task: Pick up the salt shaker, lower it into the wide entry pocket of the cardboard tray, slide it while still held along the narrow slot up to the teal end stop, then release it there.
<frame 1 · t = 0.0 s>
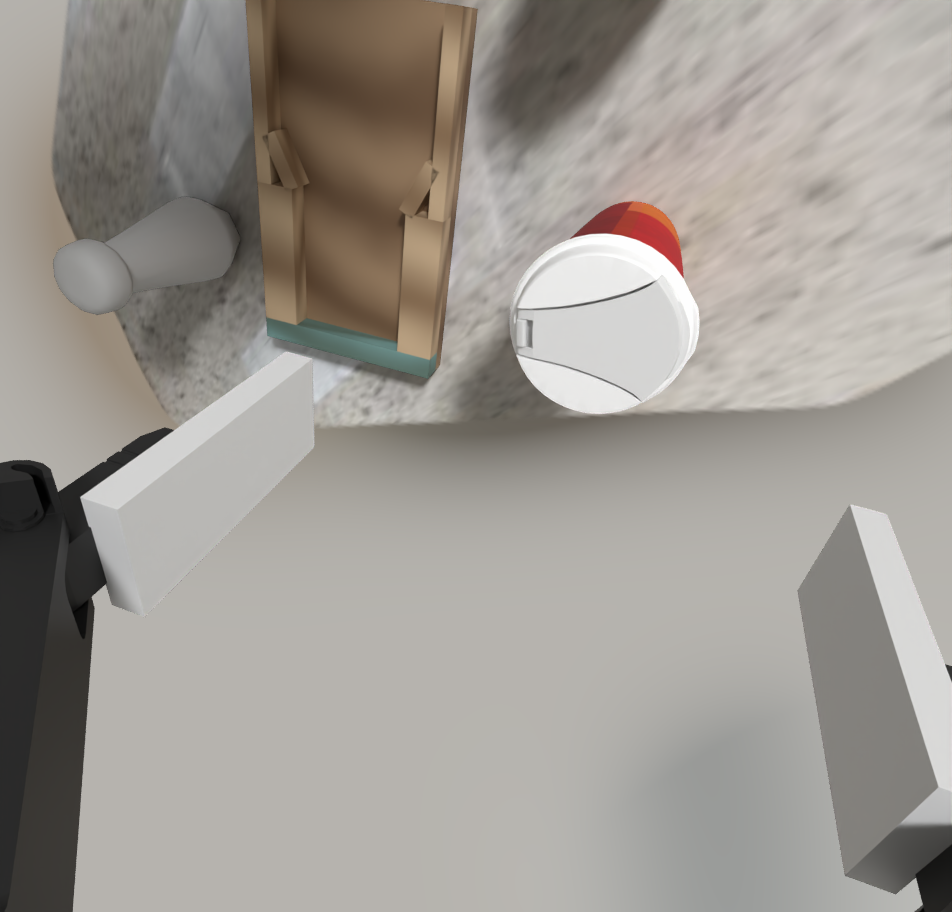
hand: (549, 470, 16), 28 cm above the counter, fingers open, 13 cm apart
coffee cup: (630, 250, 39), on the counter
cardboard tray: (364, 194, 42), on the counter
salt shaker: (218, 231, 47), on the counter
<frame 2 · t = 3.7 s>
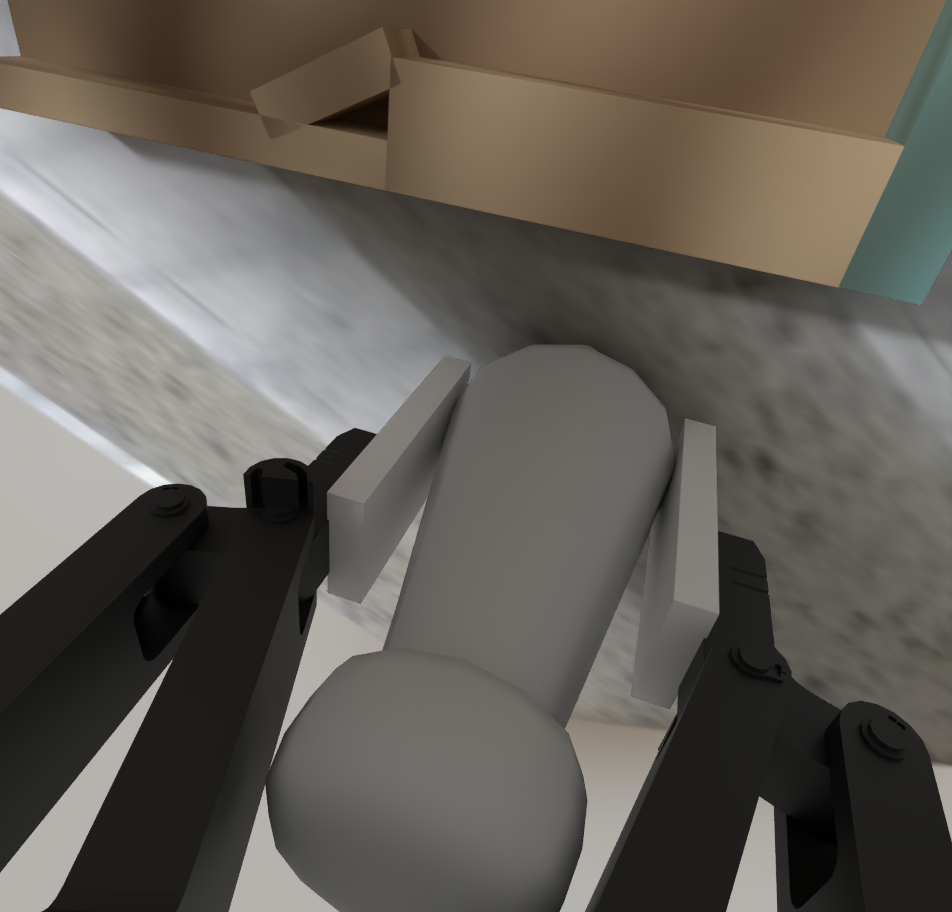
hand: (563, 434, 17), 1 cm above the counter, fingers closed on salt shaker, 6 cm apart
salt shaker: (574, 407, 18), on the counter, touching gripper
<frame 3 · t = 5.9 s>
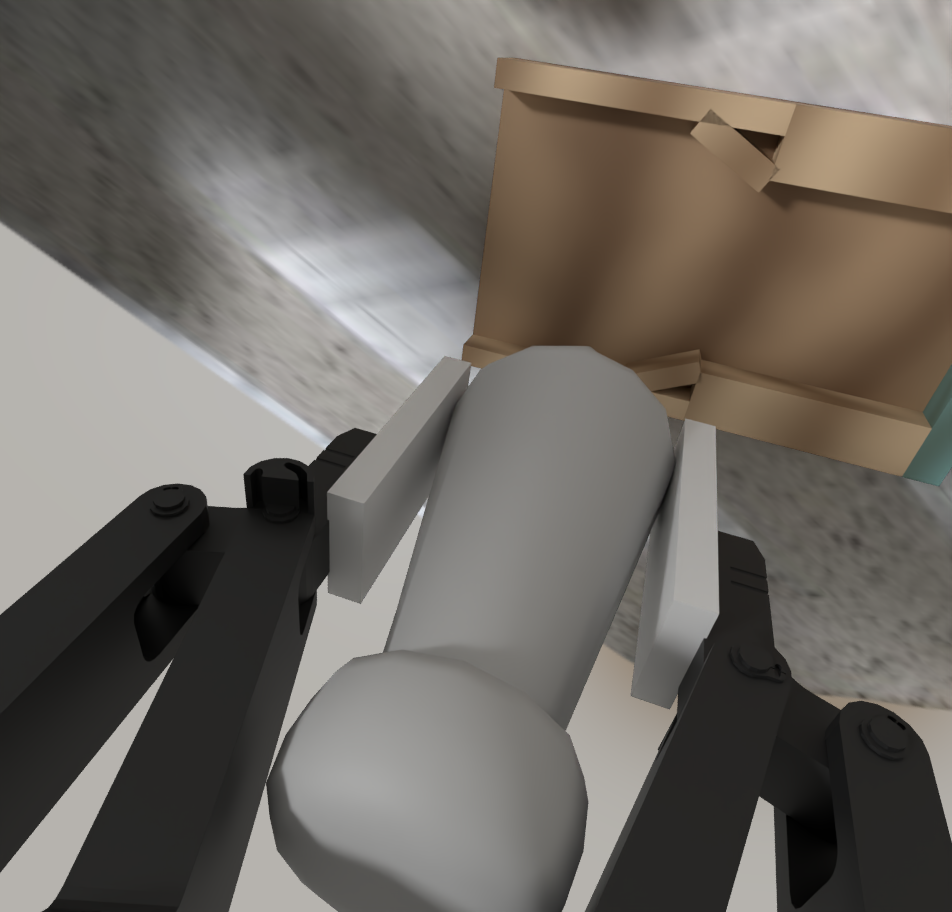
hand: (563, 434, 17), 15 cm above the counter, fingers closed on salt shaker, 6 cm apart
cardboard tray: (730, 268, 28), on the counter
salt shaker: (574, 408, 18), point 14 cm above the counter, touching gripper
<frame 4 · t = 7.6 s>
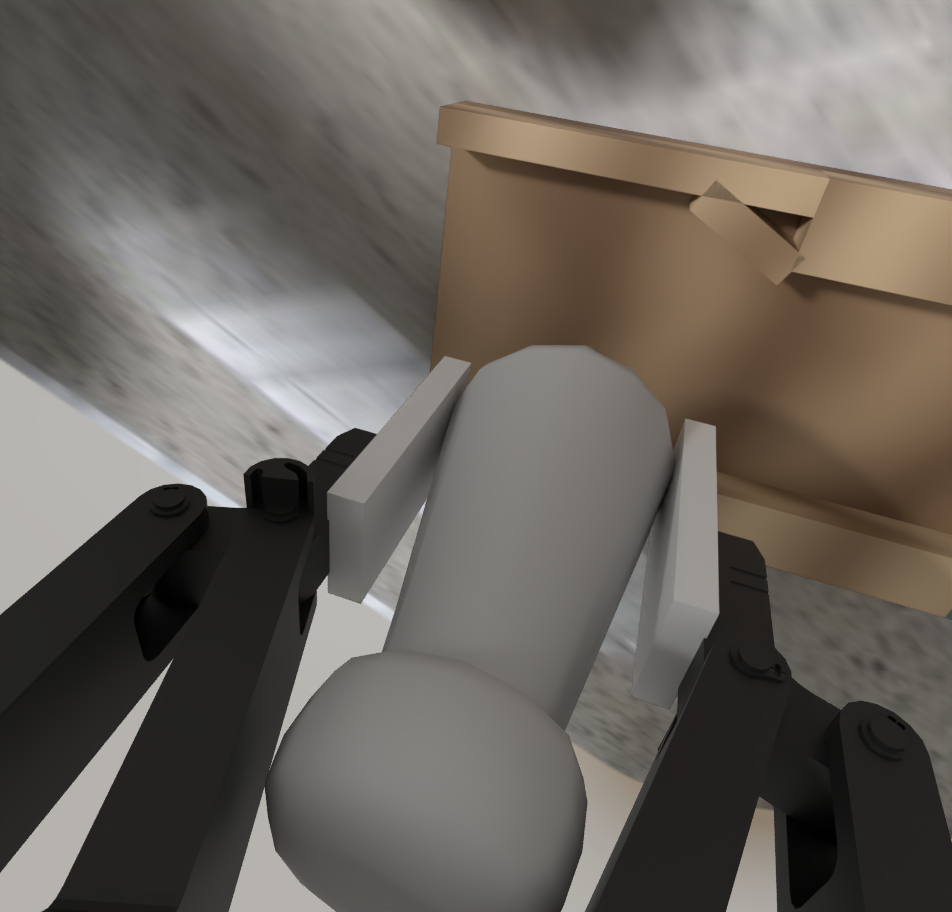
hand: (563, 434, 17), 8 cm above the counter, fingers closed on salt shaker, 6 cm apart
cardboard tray: (736, 361, 22), on the counter
salt shaker: (574, 408, 18), point 6 cm above the counter, touching gripper
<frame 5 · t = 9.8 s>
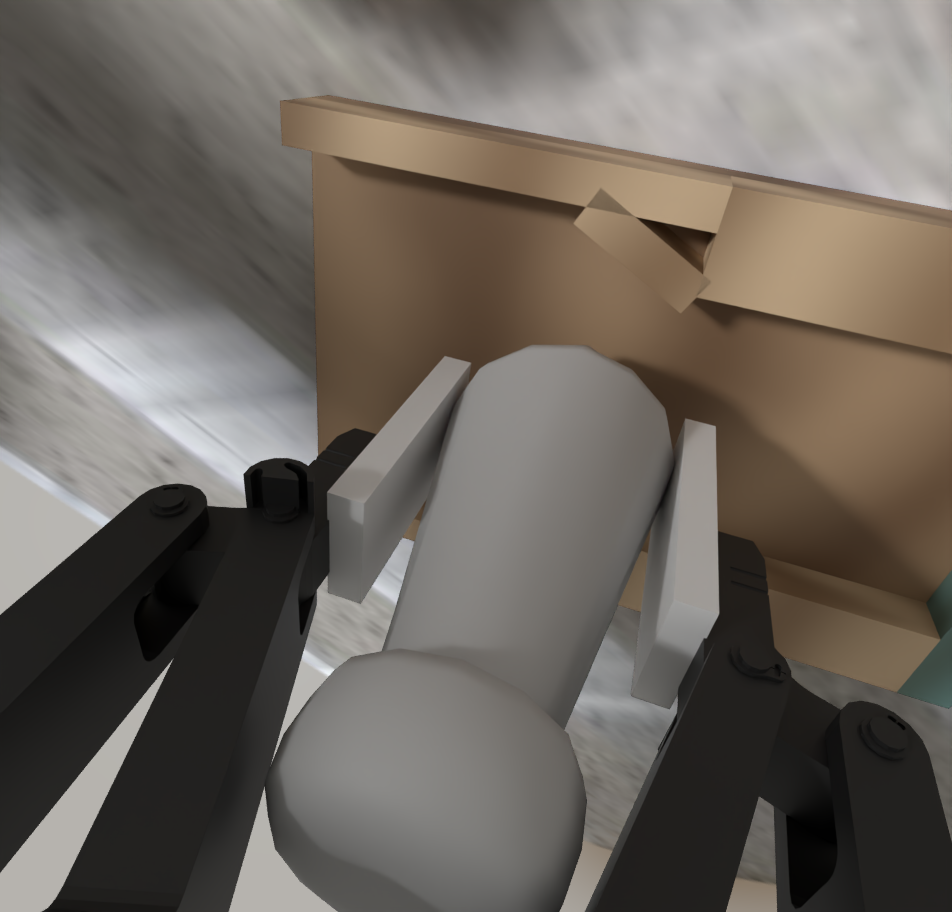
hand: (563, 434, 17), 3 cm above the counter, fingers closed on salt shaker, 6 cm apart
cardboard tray: (654, 395, 19), on the counter
salt shaker: (573, 408, 18), point 2 cm above the counter, touching gripper
when the fingers open (3 cm above the counter, at t = 11.8 s): salt shaker stays where it is, resting on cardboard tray.
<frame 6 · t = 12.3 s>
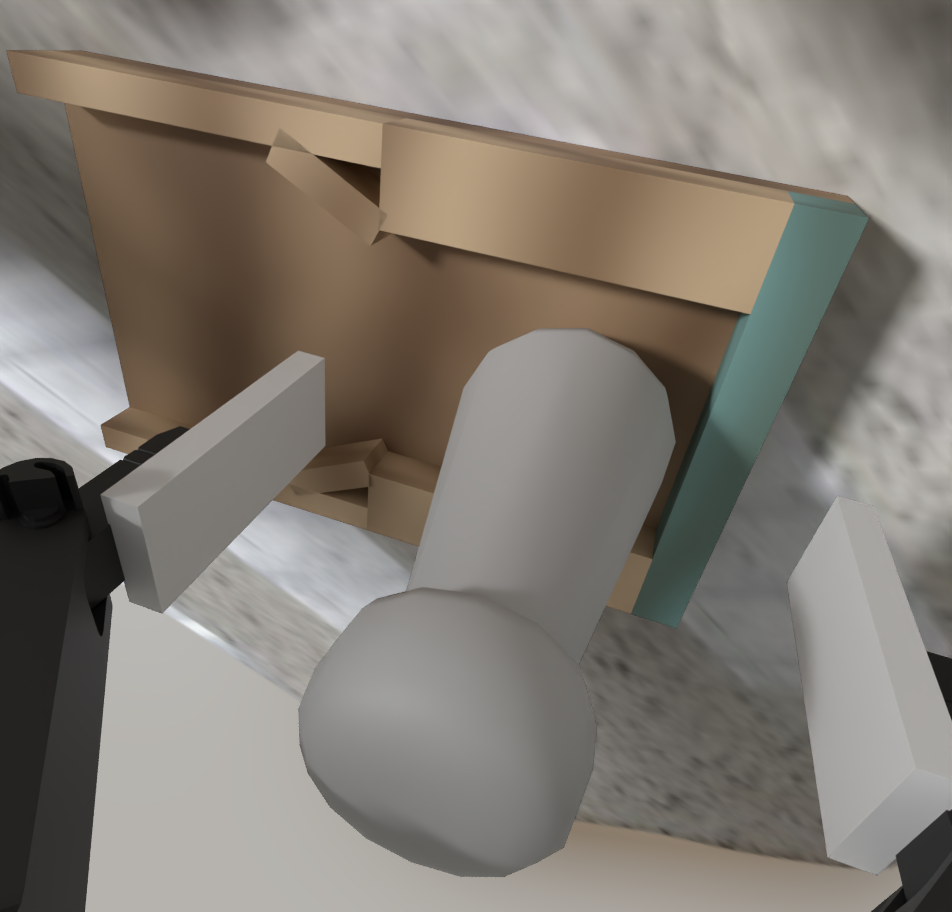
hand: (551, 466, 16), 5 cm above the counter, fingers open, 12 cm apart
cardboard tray: (405, 336, 21), on the counter
salt shaker: (577, 393, 19), point 1 cm above the counter, touching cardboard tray
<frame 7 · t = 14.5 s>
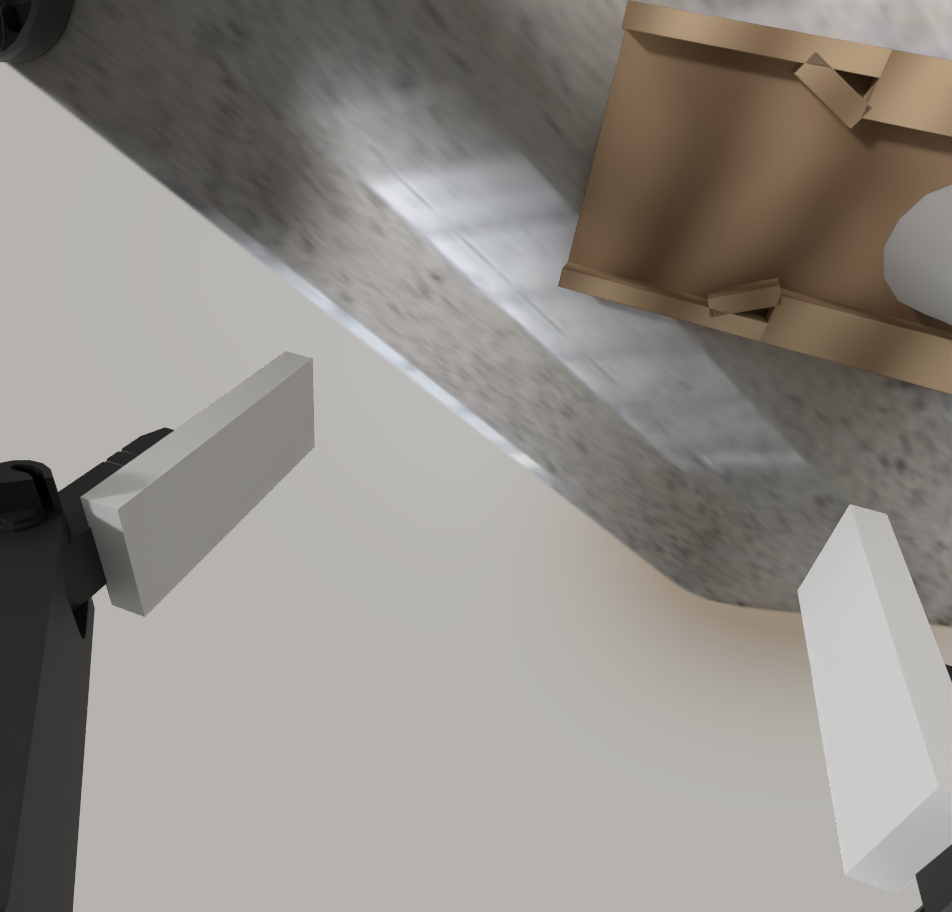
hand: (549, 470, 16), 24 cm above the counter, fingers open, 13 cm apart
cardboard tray: (811, 204, 31), on the counter
salt shaker: (944, 237, 30), point 1 cm above the counter, touching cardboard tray
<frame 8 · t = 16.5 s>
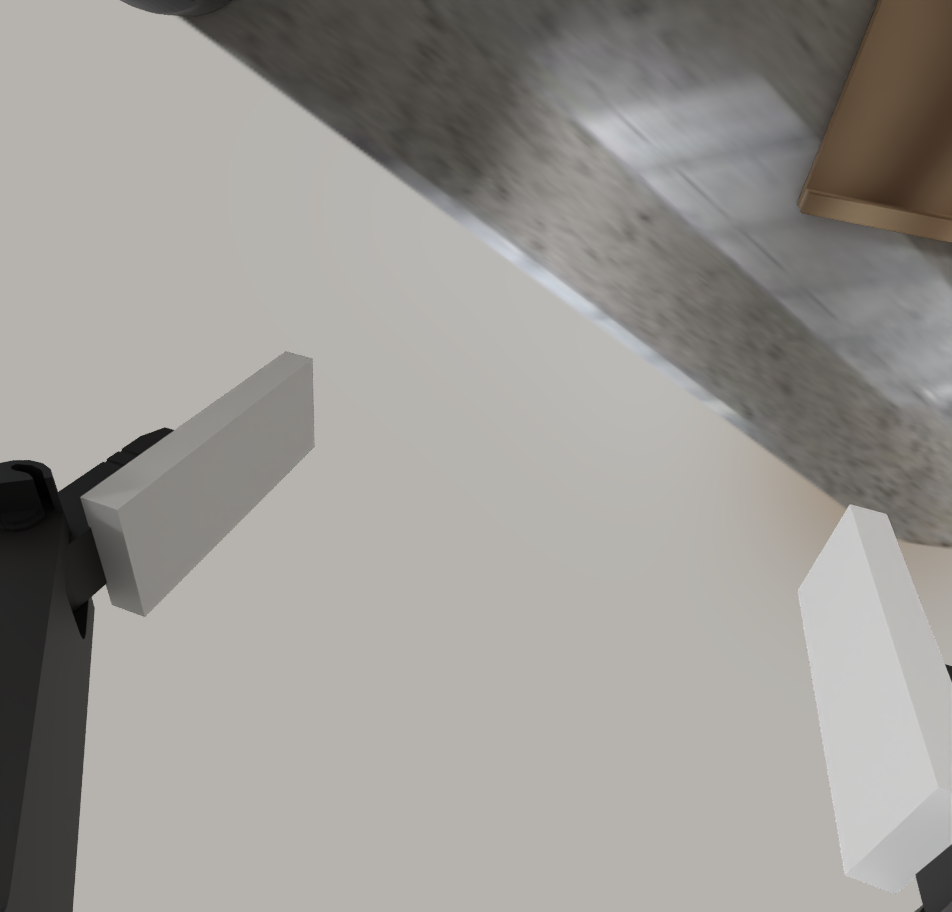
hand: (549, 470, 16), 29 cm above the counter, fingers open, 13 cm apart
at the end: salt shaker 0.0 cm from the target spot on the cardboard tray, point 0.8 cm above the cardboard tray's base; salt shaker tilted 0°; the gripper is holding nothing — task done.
